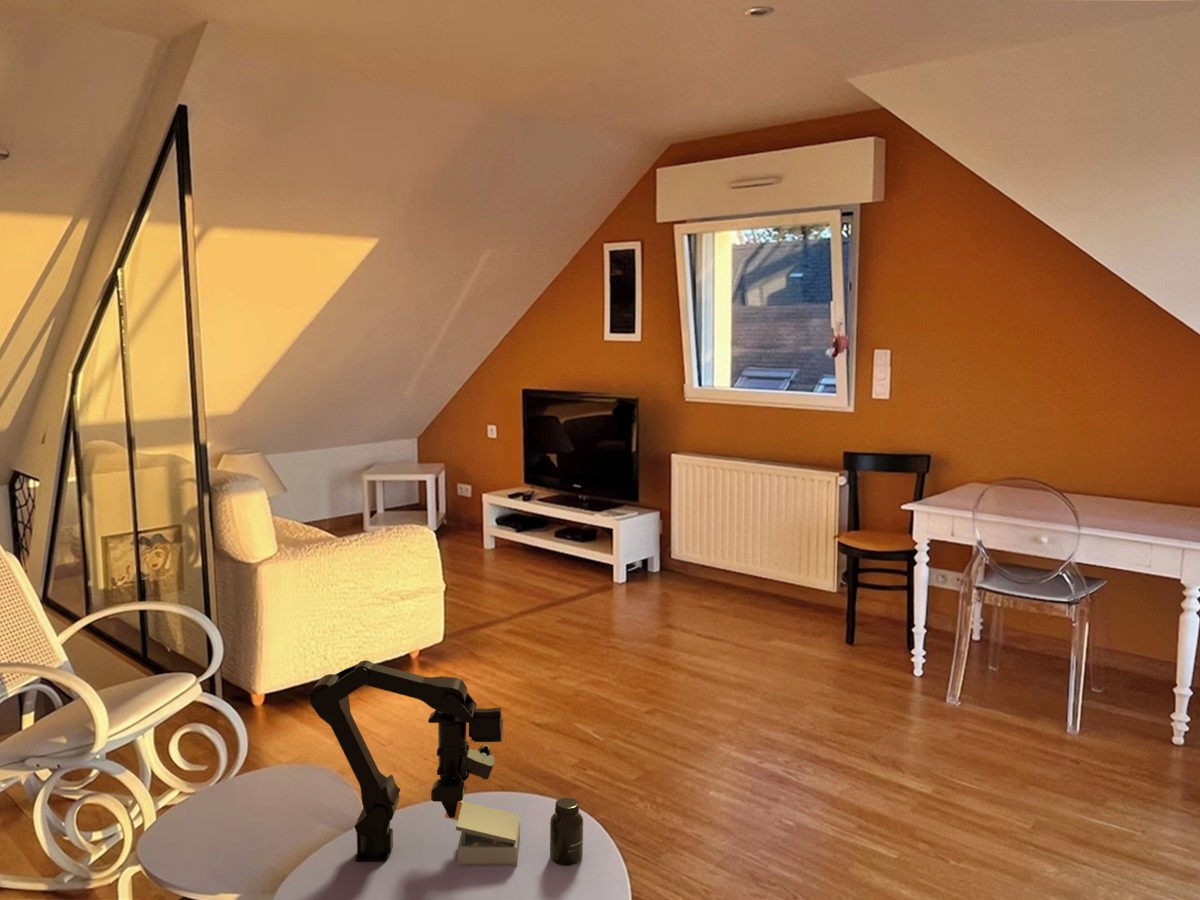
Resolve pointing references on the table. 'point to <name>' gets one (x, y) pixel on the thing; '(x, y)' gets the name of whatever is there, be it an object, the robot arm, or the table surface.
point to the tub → (487, 851)
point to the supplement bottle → (566, 833)
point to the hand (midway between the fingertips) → (453, 813)
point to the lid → (486, 822)
